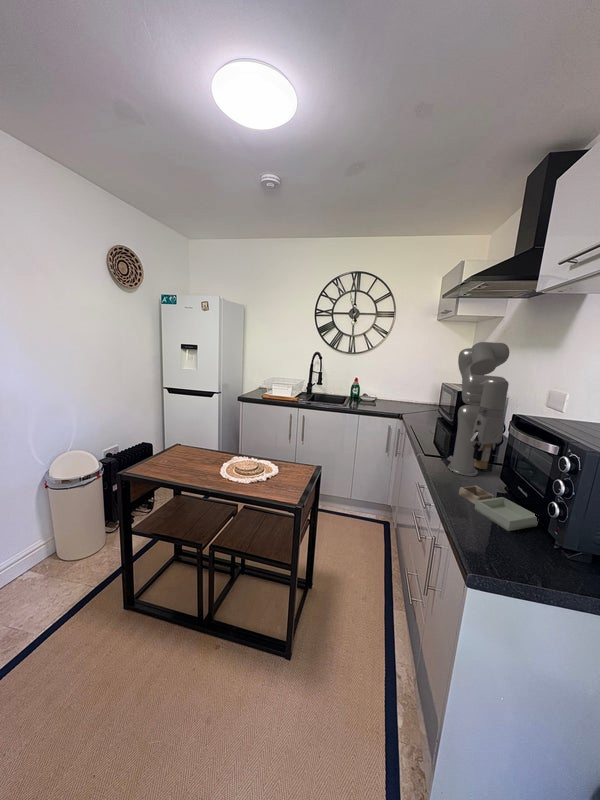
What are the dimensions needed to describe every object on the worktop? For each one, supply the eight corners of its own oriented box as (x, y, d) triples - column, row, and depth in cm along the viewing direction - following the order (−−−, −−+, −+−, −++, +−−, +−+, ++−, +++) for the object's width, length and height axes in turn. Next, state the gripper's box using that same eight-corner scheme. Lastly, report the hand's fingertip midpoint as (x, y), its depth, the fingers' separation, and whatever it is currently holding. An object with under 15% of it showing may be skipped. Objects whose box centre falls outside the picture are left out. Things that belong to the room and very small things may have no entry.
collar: (458, 494, 122) (459, 487, 121) (474, 492, 125) (475, 485, 124) (476, 505, 114) (477, 497, 114) (492, 502, 117) (494, 495, 116)
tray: (474, 509, 111) (476, 500, 110) (501, 505, 115) (503, 497, 114) (508, 531, 99) (510, 521, 98) (536, 525, 103) (539, 516, 102)
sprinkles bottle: (471, 464, 120) (477, 431, 117) (482, 464, 120) (488, 431, 117) (478, 469, 115) (485, 435, 112) (490, 469, 116) (497, 435, 113)
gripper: (481, 415, 107) (472, 465, 111) (517, 414, 112) (507, 461, 116) (464, 410, 114) (456, 456, 118) (498, 409, 119) (490, 453, 123)
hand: (482, 458), depth 117 cm, fingers closed on sprinkles bottle, 4 cm apart
